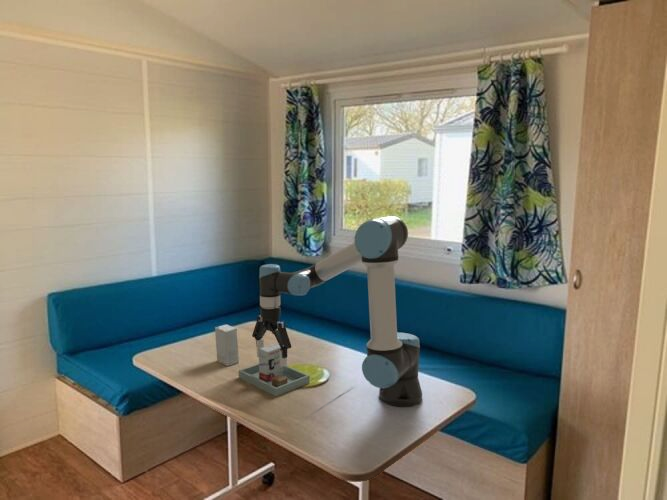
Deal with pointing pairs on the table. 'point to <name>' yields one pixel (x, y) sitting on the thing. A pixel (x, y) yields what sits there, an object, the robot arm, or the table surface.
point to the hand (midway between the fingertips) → (271, 360)
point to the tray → (252, 377)
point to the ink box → (269, 362)
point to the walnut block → (279, 381)
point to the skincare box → (227, 345)
